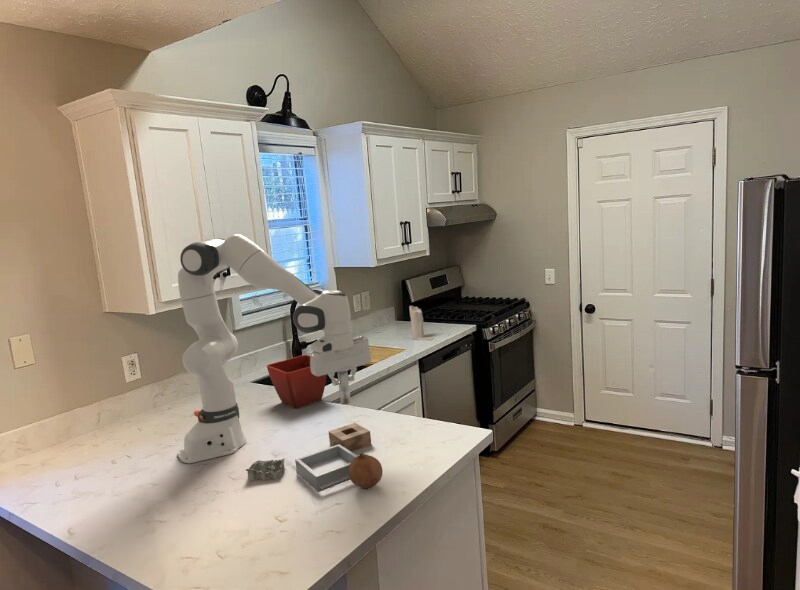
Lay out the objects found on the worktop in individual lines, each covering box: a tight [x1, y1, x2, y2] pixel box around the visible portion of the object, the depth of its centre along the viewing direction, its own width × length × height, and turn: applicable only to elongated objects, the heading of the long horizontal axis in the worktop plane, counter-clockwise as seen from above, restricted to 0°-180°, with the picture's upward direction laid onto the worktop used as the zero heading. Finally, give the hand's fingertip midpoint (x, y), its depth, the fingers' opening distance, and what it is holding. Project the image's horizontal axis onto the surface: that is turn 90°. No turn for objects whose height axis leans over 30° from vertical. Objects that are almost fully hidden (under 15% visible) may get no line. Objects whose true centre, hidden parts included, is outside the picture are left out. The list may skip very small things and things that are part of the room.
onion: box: [348, 452, 384, 490], centre depth 150 cm, size 10×9×10 cm
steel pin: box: [336, 367, 352, 405], centre depth 173 cm, size 5×5×12 cm
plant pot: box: [266, 354, 328, 409], centre depth 226 cm, size 19×19×17 cm
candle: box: [409, 305, 435, 341], centre depth 319 cm, size 7×14×20 cm, turn 59°
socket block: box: [328, 422, 372, 453], centre depth 176 cm, size 10×10×6 cm
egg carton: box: [245, 458, 286, 482], centre depth 163 cm, size 11×8×4 cm
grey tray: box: [294, 444, 358, 493], centre depth 160 cm, size 15×15×4 cm
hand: (343, 382), depth 173 cm, fingers closed on steel pin, 4 cm apart
